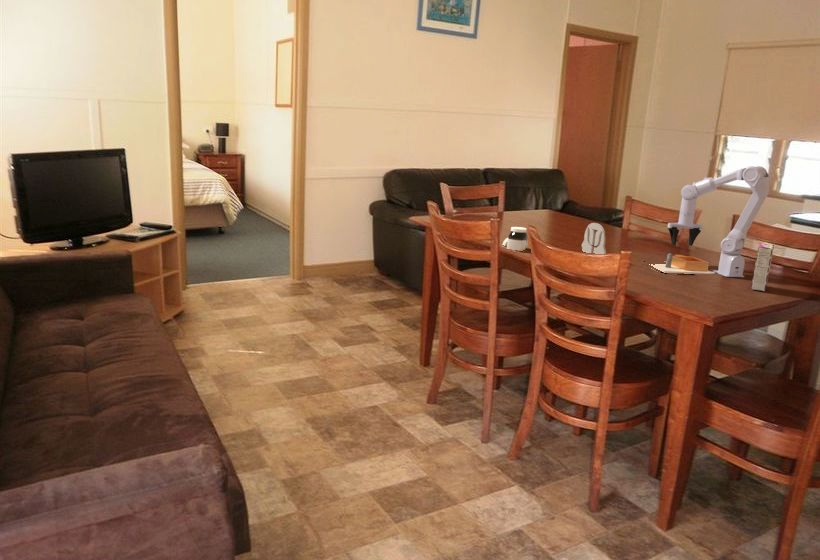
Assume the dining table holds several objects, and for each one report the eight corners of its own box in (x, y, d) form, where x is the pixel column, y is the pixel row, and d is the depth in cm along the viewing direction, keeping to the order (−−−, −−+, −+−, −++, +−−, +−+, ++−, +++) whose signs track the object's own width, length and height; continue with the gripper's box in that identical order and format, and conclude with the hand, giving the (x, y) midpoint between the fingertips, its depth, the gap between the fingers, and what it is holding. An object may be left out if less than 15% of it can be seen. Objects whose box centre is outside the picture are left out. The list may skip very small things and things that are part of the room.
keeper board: (714, 275, 253) (717, 258, 252) (663, 274, 251) (666, 256, 249) (688, 265, 273) (690, 249, 271) (640, 263, 270) (642, 247, 269)
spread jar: (520, 257, 269) (523, 230, 267) (496, 253, 275) (498, 227, 272) (529, 253, 279) (532, 227, 277) (506, 249, 285) (508, 224, 282)
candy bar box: (752, 284, 242) (760, 242, 238) (766, 286, 239) (775, 244, 235) (749, 289, 232) (758, 246, 229) (765, 291, 230) (773, 248, 226)
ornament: (606, 267, 259) (611, 227, 255) (577, 267, 255) (582, 226, 251) (579, 256, 279) (584, 219, 275) (552, 256, 276) (556, 218, 272)
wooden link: (707, 271, 256) (709, 262, 255) (684, 270, 255) (686, 261, 254) (687, 263, 270) (689, 255, 270) (666, 262, 269) (667, 254, 268)
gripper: (697, 213, 268) (692, 244, 271) (666, 211, 266) (661, 242, 269) (707, 215, 261) (701, 247, 264) (674, 213, 259) (669, 245, 263)
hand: (681, 245), depth 266 cm, fingers open, 7 cm apart
